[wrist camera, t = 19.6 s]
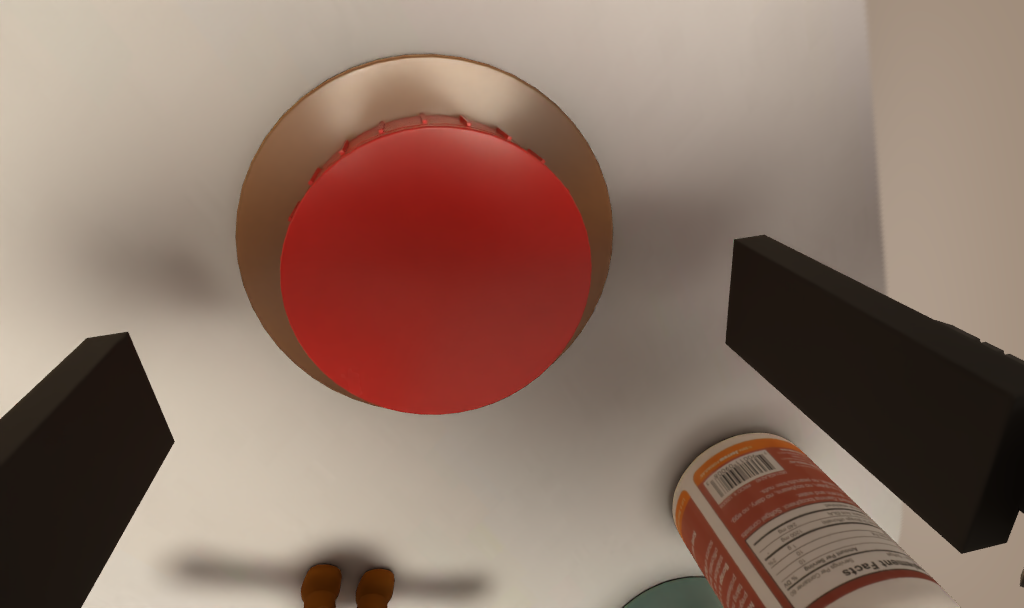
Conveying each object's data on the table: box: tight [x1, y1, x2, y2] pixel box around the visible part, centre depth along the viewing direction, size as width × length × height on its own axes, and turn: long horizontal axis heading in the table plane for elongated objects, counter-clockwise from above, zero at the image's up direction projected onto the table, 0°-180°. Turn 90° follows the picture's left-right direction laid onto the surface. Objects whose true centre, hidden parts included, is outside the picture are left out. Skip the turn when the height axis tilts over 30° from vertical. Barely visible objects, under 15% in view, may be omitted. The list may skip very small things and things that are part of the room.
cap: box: [280, 113, 592, 415], centre depth 16 cm, size 8×8×2 cm
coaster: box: [235, 54, 613, 408], centre depth 17 cm, size 11×11×1 cm
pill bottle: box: [672, 433, 961, 608], centre depth 19 cm, size 6×6×11 cm
